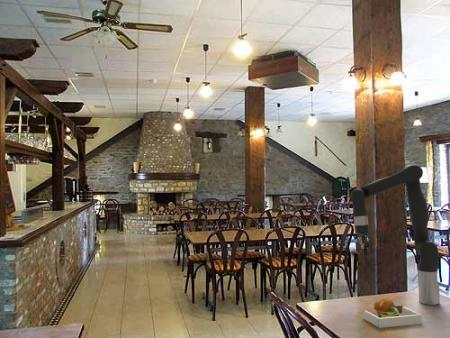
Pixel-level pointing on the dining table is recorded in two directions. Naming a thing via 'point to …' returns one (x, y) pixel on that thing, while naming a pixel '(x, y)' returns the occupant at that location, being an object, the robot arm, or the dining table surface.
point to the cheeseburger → (385, 308)
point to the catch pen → (395, 319)
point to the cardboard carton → (398, 306)
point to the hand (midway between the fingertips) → (365, 255)
